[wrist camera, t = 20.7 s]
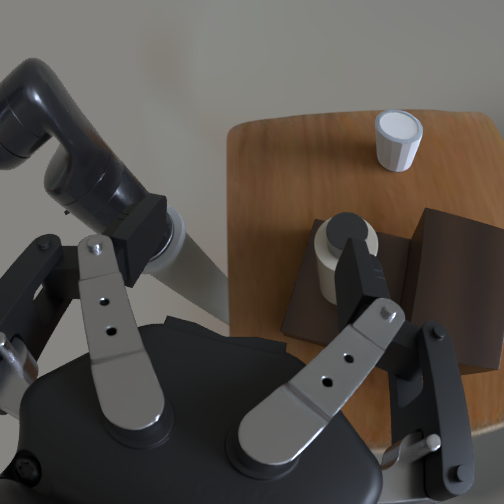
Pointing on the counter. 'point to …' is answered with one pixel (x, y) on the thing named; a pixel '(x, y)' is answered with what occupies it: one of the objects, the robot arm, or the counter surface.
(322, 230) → the white bottle
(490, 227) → the stepped wooden block
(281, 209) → the counter surface
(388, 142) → the white short tapered cylinder
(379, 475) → the robot arm
